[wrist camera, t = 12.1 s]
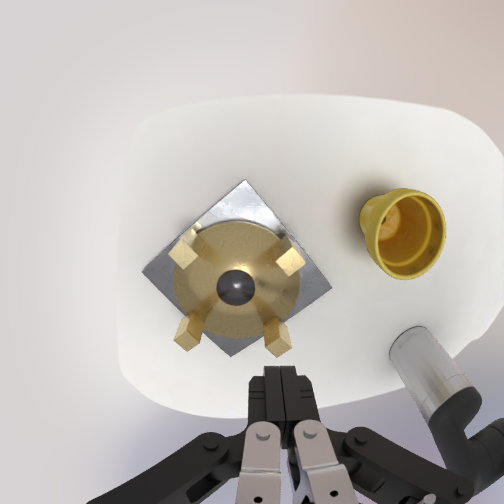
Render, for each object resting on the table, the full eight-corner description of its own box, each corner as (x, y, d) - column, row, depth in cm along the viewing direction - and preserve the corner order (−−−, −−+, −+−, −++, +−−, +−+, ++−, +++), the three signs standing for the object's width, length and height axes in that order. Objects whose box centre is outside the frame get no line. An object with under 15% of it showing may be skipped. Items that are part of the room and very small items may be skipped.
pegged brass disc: (242, 182, 33) (241, 187, 27) (331, 286, 38) (344, 310, 32) (142, 274, 37) (125, 295, 31) (232, 357, 42) (230, 385, 36)
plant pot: (333, 235, 37) (358, 261, 28) (365, 168, 34) (401, 174, 25) (388, 263, 39) (420, 292, 29) (418, 203, 36) (458, 218, 26)
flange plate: (330, 285, 39) (332, 288, 38) (231, 353, 43) (230, 358, 42) (245, 179, 35) (245, 180, 33) (143, 269, 38) (140, 272, 37)
